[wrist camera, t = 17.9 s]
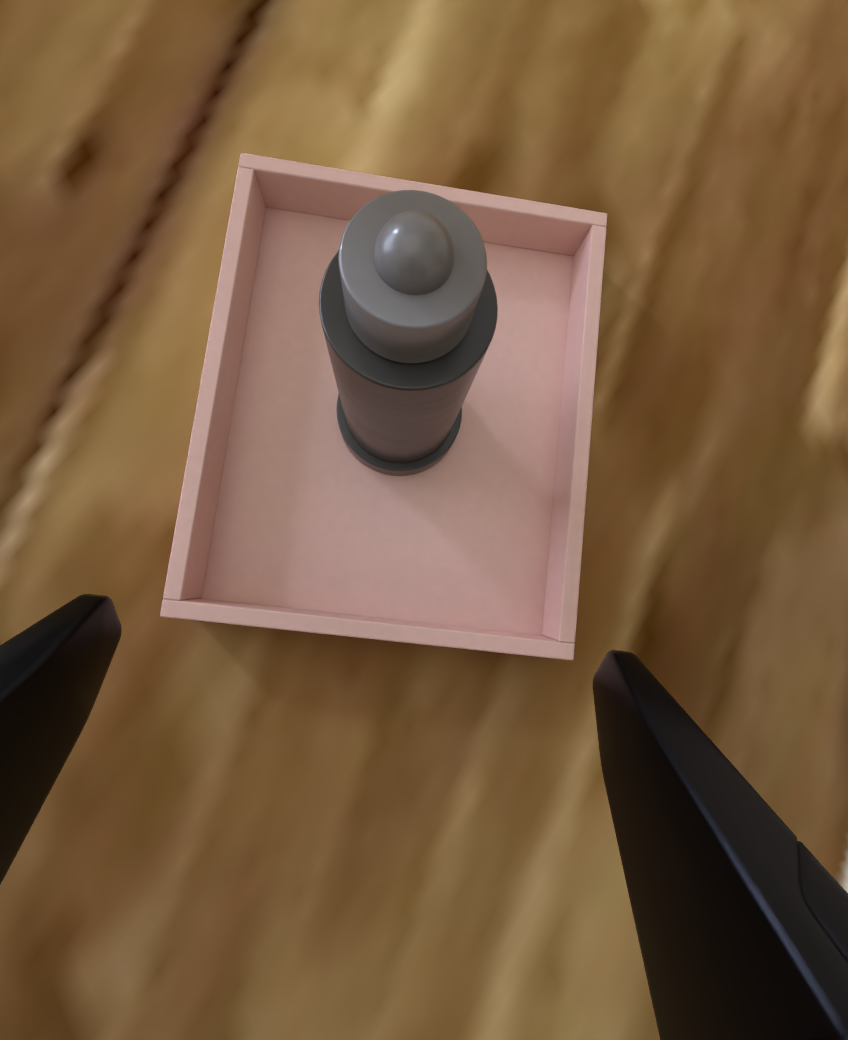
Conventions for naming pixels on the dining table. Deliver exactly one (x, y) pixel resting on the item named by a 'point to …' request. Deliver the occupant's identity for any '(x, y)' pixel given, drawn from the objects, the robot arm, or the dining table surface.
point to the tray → (369, 494)
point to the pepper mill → (406, 327)
